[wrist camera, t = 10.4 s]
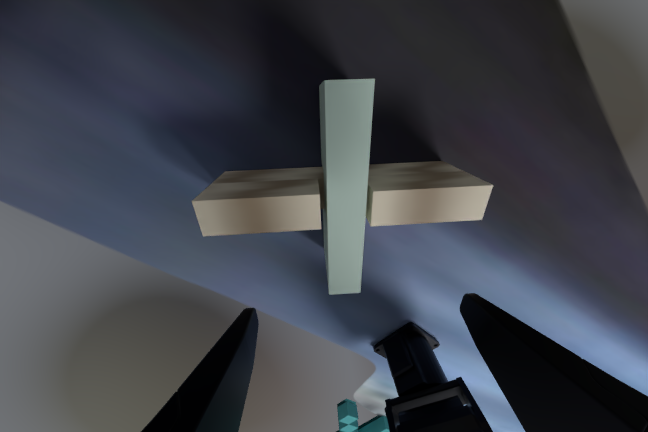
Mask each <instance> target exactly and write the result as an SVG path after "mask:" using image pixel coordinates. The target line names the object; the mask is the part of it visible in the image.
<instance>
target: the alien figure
mask: <svg viewBox="0 0 648 432" xmlns="http://www.w3.org/2000/svg"><path fill="white" fill-rule="evenodd" d="M337 409H338V420H339V430H338V431H336V432H389V425H388V421H387V417H385V416H379V415H377V416H376V417H374V418H372V419H371V420H369V421H367V422H365V423H363V424H362V425H360V426H358V422H357V419H358V413H357V406H356V402H354V401H352V400H349V399H345V400H343V401H341V402H340V403H338V404H337Z"/></svg>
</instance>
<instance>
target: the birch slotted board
mask: <svg viewBox="0 0 648 432" xmlns="http://www.w3.org/2000/svg"><path fill="white" fill-rule="evenodd" d="M492 188H493V185H492V184H490V183H488V182H485V181H483V180H481V179H479V178H477V177H475V176H473V175H471V174H469V173H466V172H464V171H462V170H460V169H458V168H456V167H454V166H452V165H449V164H447V163H445V162H443V161H430V162H410V163H389V164H369V172H368V187H367V202H366V218H367V220H368V222H369V224H370V226H386V225H402V224H419V223H436V222H453V221H469V220H482V218H483V215H484V212H485V209H486V206H487V203H488V200H489V197H490V194H491V191H492ZM192 204H193V207H194V210H195V213H196V216H197V219H198V222H199V225H200V228H201V231H202V234H203V236H218V235H235V234H251V233H268V232H285V231H302V230H319V229H321V212H320V209H325V204H324V172H323V167H306V168H285V169H264V170H244V171H225V172H224V173H223V174H222V175H220V176H219V177H218V178H217V179H216V180H215V181H214V182H213V183H212V184H210V185H209V186H208V187H207V188H206V189H205V190H204V191H203V192H201V193H200V194H199V195H198V196H197V197H196V198H195V199H194V200H192Z"/></svg>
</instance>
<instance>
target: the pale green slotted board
mask: <svg viewBox="0 0 648 432" xmlns="http://www.w3.org/2000/svg"><path fill="white" fill-rule="evenodd" d="M374 83H375V79H350V80H324V81H323V82H322V83H321V84H320V85H319V99H320V132H321V162H322V167H323V172H324V204H325V209H323V231H324V253H325V262H326V271H327V281H328V290H329V295H334V294H349V293H360V291H361V277H362V262H363V247H364V232H365V217H366V202H367V187H368V172H369V158H370V143H371V128H372V113H373V98H374Z"/></svg>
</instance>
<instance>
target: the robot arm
mask: <svg viewBox="0 0 648 432" xmlns="http://www.w3.org/2000/svg"><path fill="white" fill-rule="evenodd" d="M460 312H461V315H462V317H463V319H464V321H465V323H466V325H467V328H468V330H469V332H470V334H471V336H472V338H473V340H474V343H475V345H476V347H477V349H478V350H479V352H480V354H481V356H482V357H483V359H484V361H485V363H486V364H487V366H488V368H489V369H490V371H491V373H492V375H493V376H494V378H495V380H496V382H497V383H498V385H499V387H500V388H501V390H502V392H503V394H504V395H505V397H506V399H507V401H508V402H509V404H510V406H511V407H512V409H513V411H514V413H515V414H516V416H517V418H518V419H519V421H520V423H521V425H522V426H523V428H524V430H525V432H648V396H646V395H644V394H642V393H641V392H639V391H637V390H635V389H634V388H632V387H630V386H628V385H627V384H625V383H623V382H621V381H619V380H618V379H616V378H614V377H613V376H611V375H609V374H608V373H606V372H604V371H603V370H601V369H599V368H597V367H596V366H594V365H593V364H591V363H589V362H588V361H586V360H584V359H581V357H579V356H578V355H576V354H574V353H573V352H571V351H569V350H568V349H566V348H564V347H563V346H561V345H559V344H558V343H556V342H555V341H553V340H551V339H550V338H548V337H546V336H545V335H543V334H541V333H540V332H538V331H536V330H535V329H533V328H531V327H530V326H528V325H527V324H525V323H523V322H522V321H520V320H518V319H517V318H515V317H513V316H512V315H510V314H508V313H507V312H505V311H503V310H502V309H500V308H499V307H497V306H495V305H494V304H492V303H490V302H489V301H487V300H485V299H484V298H482V297H480V296H479V295H477V294H475V293H469V294H465V295H464V296H463V299H462V302H461V305H460ZM257 333H258V317H257V313H256V309H255V308H246V309H244V310H243V311H242V312H241V314H240V315H239V316H238V317H237V318H236V320H235V321H234V322H233V323H232V325H231V326H230V327H229V328H228V329H227V330H226V332H225V333H224V334H223V335H222V337H221V338H220V339H219V340H218V341H217V343H216V344H215V345H214V346H213V347H212V349H211V350H210V351H209V352H208V353H207V355H206V356H205V357H204V358H203V359H202V361H201V362H200V363H199V364H198V366H197V367H196V368H195V369H194V370H193V372H192V373H191V374H190V375H189V376H188V378H187V379H186V380H185V381H184V382H183V384H182V385H181V386H180V387H179V388H178V392H175V393H174V394H173V396H172V397H171V398H170V399H169V400H168V402H167V403H166V404H165V405H164V406H163V407H162V409H161V410H160V411H159V412H158V413H157V415H156V416H155V417H154V418H153V419H152V420H151V421H150V422H149V423H148V425H147V426H146V427H145V428H144V429H143V430H142V431H141V432H238V430H239V426H240V421H241V417H242V413H243V409H244V404H245V399H246V395H247V391H248V387H249V383H250V378H251V374H252V370H253V364H254V357H255V349H256V341H257ZM439 345H440V344H439V342H438V341H437V340H436V339H435V338H433V337H432V336H430V335H429V334H427V333H426V332H425V331H423V330H422V329H420V328H419V327H418V326H416V325H415V324H413V323H408V324H407V325H405V326H404V327H402V328H401V329H399V330H398V331H396V332H395V333H393V334H392V335H390V336H389V337H387V338H386V339H384V340H382V341H381V342H379V343H378V344H376V345H375V346H374V347H373V348H374V352H376V353H378V354H379V355H381V356H383V357H385V358H386V359H387V361H388V364H389V368H390V371H391V374H392V377H393V379H394V383H395V386H396V389H397V393H398V396H399V397H397V398H393V399H387V400H385V402H386V408H385V413H386V417H387V421H388V425H389V432H493V431H492V429H491V427H490V426H489V424H488V422H487V420H486V418H485V417H484V415H483V413H482V412H481V410H480V408H479V407H478V405H477V403H476V401H475V400H474V398H473V396H472V395H471V393H470V391H469V390H468V388H467V386H466V384H465V383H464V381H463V379H462V378H461V377H459V378H456V380H452V381H449V382H448V380H447V378H446V376H445V374H444V372H443V370H442V368H441V366H440V364H439V362H438V360H437V358H436V356H435V354H434V352H433V349H435V348H437V347H438V346H439ZM465 404H467V405H466V406H463V405H465Z"/></svg>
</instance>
